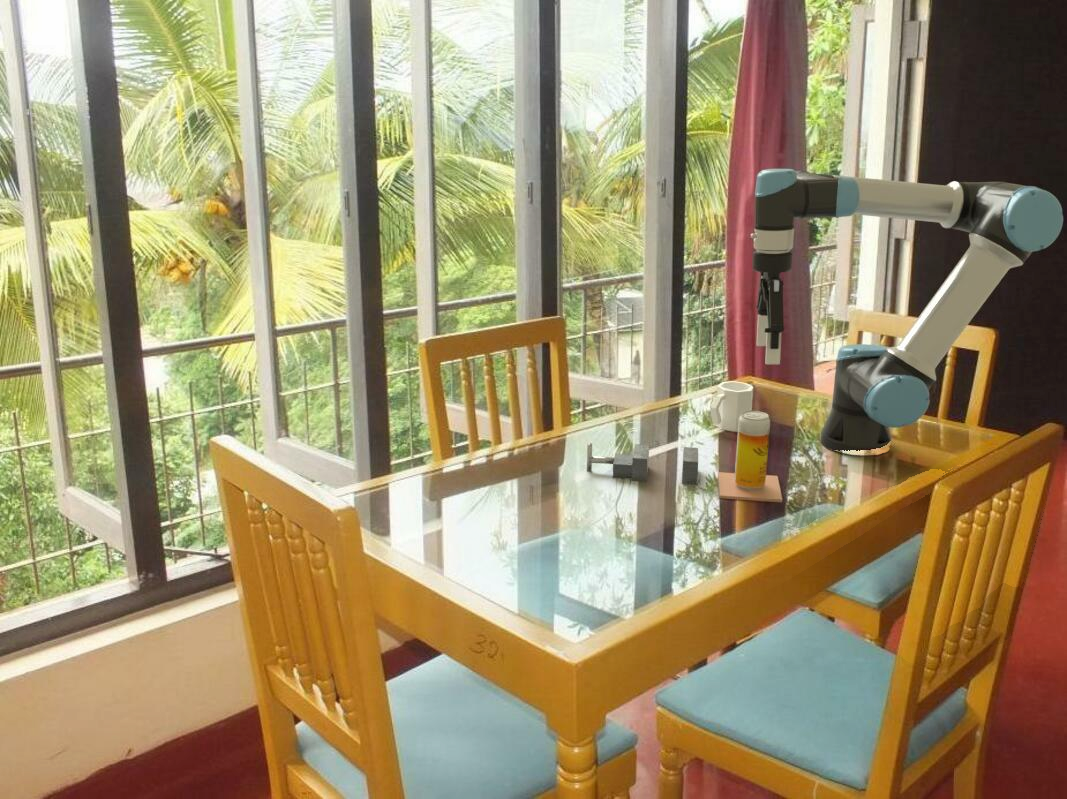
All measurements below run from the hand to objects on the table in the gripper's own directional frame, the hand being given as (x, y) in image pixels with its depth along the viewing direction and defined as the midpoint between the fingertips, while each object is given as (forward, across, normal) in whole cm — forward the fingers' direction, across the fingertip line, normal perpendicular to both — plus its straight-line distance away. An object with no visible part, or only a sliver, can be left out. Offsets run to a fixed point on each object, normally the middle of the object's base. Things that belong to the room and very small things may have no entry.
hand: (767, 354), depth 192 cm
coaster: (+25, +10, -4) cm, 27 cm away
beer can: (+25, +10, -4) cm, 27 cm away
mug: (+25, -26, -5) cm, 36 cm away
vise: (+24, +5, -26) cm, 36 cm away
